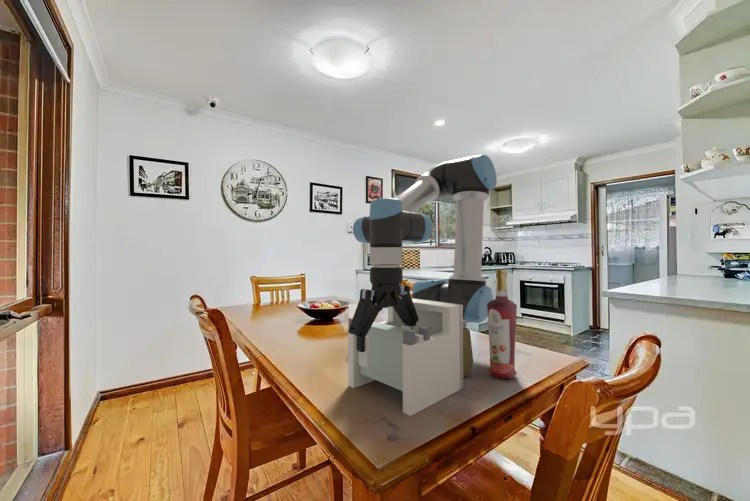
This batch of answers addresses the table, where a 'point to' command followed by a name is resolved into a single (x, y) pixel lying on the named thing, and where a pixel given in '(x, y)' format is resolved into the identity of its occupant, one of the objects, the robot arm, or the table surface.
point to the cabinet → (423, 355)
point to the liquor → (502, 330)
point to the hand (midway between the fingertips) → (386, 359)
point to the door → (387, 354)
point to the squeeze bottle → (467, 351)
